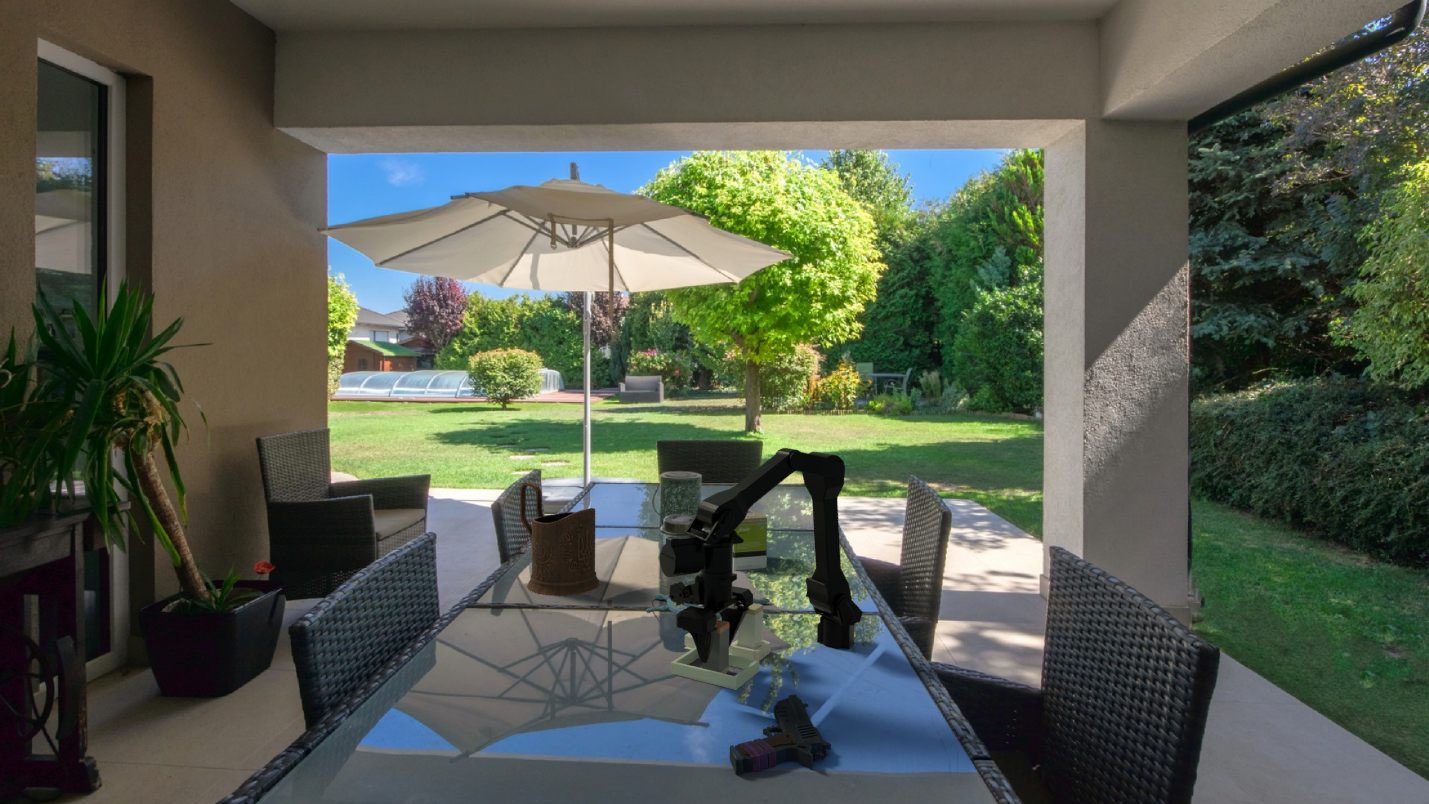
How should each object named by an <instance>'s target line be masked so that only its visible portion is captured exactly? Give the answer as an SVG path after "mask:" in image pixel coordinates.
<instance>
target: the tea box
mask: <svg viewBox="0 0 1429 804" xmlns="http://www.w3.org/2000/svg"><path fill="white" fill-rule="evenodd" d="M735 531H736V533H737V534H738V535H739V536H740V537H741V538H742V539H743V540H744V542H743V543H740V544H733V572H734V571H746V570H747V571H748V570H749V571H750V570H761V569H767V564H768V563H767V562H768V559H767V558H768V557H767V556H768V555H767V554H768V546H767V543H768V542H767V541H768V540H767V539H768V517H766V516H765V515H763V514H762V513H760V512H758V511H757V510H755V509H753V508H752V507H751V508H750V509H749V510H748V512H747V515H746V517H745V519H744V520H743V521H742V523H741V524H740V525H739V526H738V527H737V528H736V529H735Z"/></svg>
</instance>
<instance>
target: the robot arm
mask: <svg viewBox="0 0 1429 804" xmlns="http://www.w3.org/2000/svg"><path fill="white" fill-rule="evenodd" d="M844 461H845V460H843V459H842V458H841V457H840V456H839V455H837V454H831V453H825V452H819V451H811V452H808V453H806V452H803V451H801V450H798V449H796V448H789V447H782V448H780V449H778V450H777V451H776V452H775V454H774V455H773V456H772V457H770V458H769V459H768V460H767V461H765V462H764V463H762V465H760V466H759V467H757V468H756V469H755V470H754V471H752V472H751V473H750V474H748V475H747V476H745V478H743V479H742V480H740V482H738V483H737V484H736V485H734V486H733V487H731V488H729V489H725V490H721V491H718V492H716V493H714V494H712V495H710V496H708V497H706V498H705V499H703V500H701V502H700V503H699V504H698V506H697V511H696V514H694V516H693V519H692V520H691V522H690V523H689V525H688V526H687V528H686V529H685V531H684V535H683V536H681V535H680V536H667V537H665V544H663V545H662V547H661V549H660V550H661V551H660V553H659V564H660V569H661V571H662V573H663V574H664V576H665V577H667V578H674V577H680V576H687V575H692V574H697V575H696V576H695V577H694V580H691V581H686V582H683V581H679V582H674V583H671V584H670V585H669V594H668V595H669V598H670V599H671V601H673V602H675V603H676V605H681V604H686V603H685V602H688V603H691V602H692V604H693V605H696V606H693V605H689V606H686V607H687V608H686V609H684V610H682V611H680V612H679V613H678V614H677V613H676V614H675V626H676V628H678V629H682V630H683V631H686V632H687V633H690V634H691V635H692V638H693V640H694V643H695V646H696V649H697V652H698V655H699V658H700V659H699V660H700V662H701V664H702V663H707V661H708V658H709V655H710V652H711V649H712V645H713V642H714V639H715V636H716V632H717V629H718V628H717V627H715V625H716V622H717V620H718V619H717V616H716V615H717V614H720V615H721V619H722V621H726V622H729V647H730V646H731V644H732V642H734V639H735V638H736V635H737V634H738V629H739V627H740V625H741V623H742V621H743V619H744V617H745V615H746V613H747V611H749V606H751V605H752V604H753V598H754V594H753V592H752V591H751V590H750V588H745V587H740V586H739V587H738V586H733V584H734V583H733V582H735V581H737V580H738V574H737V573H734V570H733V544H740V543H743V542H744V540H743V539H742V538H741V537H740V536H739V535H738V534H737V533H736V531H735V529H736V528H737V527H738V526H739V525H740V524H741V523H742V521H743V520H744V519H745V517H746V515H747V512H748V510H749V509H750V508H751V509H752V506H754V504H756V503H757V502H758V501H760V500H761V499H762V498H763V497H764V496H766V495H767V494H768V493H770V492H771V491H772V490H773V489H774V488H776V487H777V486H778V485H779V484H781V483H782V482H783V481H784V480H786V479H787V478H788V477H789V476H791V475H792V474H793V473H794V472H800V473H801V474H802V480H803V484H804V486H805V487H806V490H807V491H808V493H809V495H810V497H811V502H812V522H813V538H814V559H815V570H814V572H813V573H812V575H811V576H810V577H809V576H808V577H807V576H806V578H805V586H806V595H805V597H806V598H808V601H809V604H810V605H812V606H813V607H812V608H813V610H814V613H815V614H816V615H819V616H820V617H819V622H818V623H817V624H816V625H817V627H816V628H817V631H816V633H817V634H816V642H817V643H819V644H820V645H823V646H825V647H827V648H830V649H835V650H850V649H851V648H852V647H853V646H855V625H856V623H857V624H858V623H861V619H862V616H863V611H862V609H860V608H861V607H859V606H858V605H857V604H856V602H854V601H853V597H852V592H851V588H850V587H851V586H850V583H849V581H848V579H847V577H846V575H845V573H844V571H843V570H842V565H841V542H840V525H839V523H840V522H839V508H838V507H839V505H838V504H839V503H838V497H839V496H840V495H841V494H840V493H841V492H842V490H843V487H844V486H845V478H846V476H845V475H846V466H845V462H844ZM705 529H706V530H708V531H706V530H705ZM690 601H691V602H690ZM698 605H702V606H703V607H702V606H701V607H700V606H698Z"/></svg>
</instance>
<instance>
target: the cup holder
mask: <svg viewBox="0 0 1429 804" xmlns="http://www.w3.org/2000/svg"><path fill="white" fill-rule="evenodd" d="M527 487H530V488H532V489H533V490H534V492H535V495H536V496H535V497H536V498H535V501H536V502H535V507H536V508H535V512H536V516H537V517H535V518H533V519H531V525H530V523H529V521H528V520H527V517H526V515H527V514H526V512H527V511H526V505H527V503H526V501H527V498H526V497H527V496H526V495H527V493H526V491H527ZM542 499H543V495H542V490H541V488H540V486H539V485H538V484H536V483H534V482H526V483H523V484H522V485H521V486H520V490H519V502H520V503H519V509H520V510H519V512H520V513H519V515H520V516H519V517H520V521H521V524H522V525H523V527H524V529H525V530H526V532H527V533H528V535H529V536H530V538H531V575H530V580H529V581H528V583H527V585H526V589H527V588H528V589H527V590H528V591H529V590H530V591H529V592H531V591H532V592H531V593H533V592H534V594H537V595H541V594H542V595H544V596H554V597H557V596H558V597H559V596H561V597H565V596H575V595H581V594H585V593H590V592H592V591H595V590H597V589H599V588H600V586H601V582H600V580H599V579H598V576H597V572H596V508H594V507H590V508H585V509H581V510H577V511H567V512H565V511H564V512H559V513H554V514H553V513H552V514H547V515H544V514H543V503H542V502H543V501H542Z"/></svg>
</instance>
